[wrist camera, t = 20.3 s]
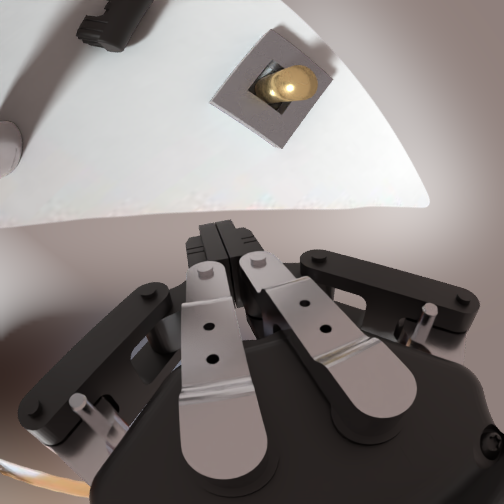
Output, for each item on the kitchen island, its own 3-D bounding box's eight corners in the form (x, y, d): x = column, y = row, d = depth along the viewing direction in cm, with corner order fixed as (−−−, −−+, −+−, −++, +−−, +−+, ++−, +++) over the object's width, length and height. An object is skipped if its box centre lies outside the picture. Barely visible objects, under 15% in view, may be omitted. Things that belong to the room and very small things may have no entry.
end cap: (126, 56, 28) (118, 45, 22) (86, 48, 25) (71, 37, 19) (158, 2, 25) (156, -17, 19) (118, -6, 22) (110, -24, 16)
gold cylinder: (249, 92, 35) (275, 84, 26) (265, 71, 34) (296, 57, 25) (272, 109, 37) (304, 107, 28) (288, 87, 36) (324, 81, 27)
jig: (208, 102, 35) (211, 101, 32) (263, 35, 31) (271, 28, 28) (273, 146, 40) (282, 148, 37) (321, 81, 37) (333, 79, 34)
